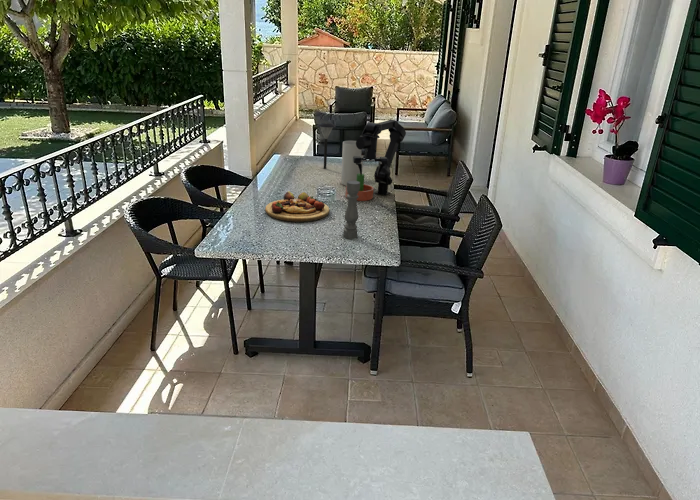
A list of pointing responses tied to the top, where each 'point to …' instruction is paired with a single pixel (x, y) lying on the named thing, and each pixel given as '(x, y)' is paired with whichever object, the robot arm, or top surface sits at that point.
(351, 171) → the cylinder vase
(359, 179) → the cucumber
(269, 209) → the wooden plate
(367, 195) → the pot
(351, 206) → the candle holder
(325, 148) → the solar garden light
